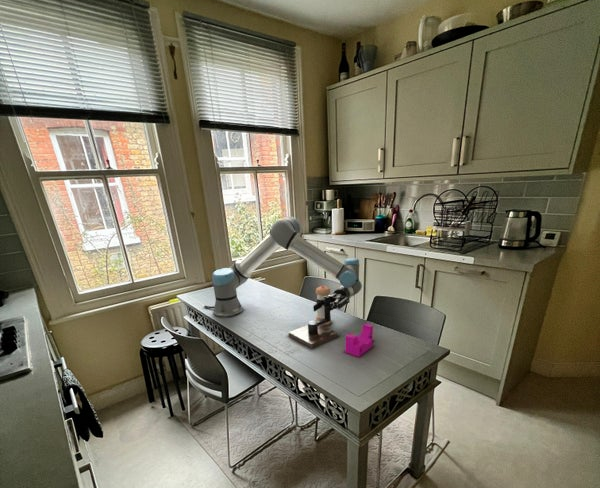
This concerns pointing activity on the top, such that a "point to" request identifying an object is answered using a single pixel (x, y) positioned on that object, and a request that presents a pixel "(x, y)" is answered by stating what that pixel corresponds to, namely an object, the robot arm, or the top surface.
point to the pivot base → (313, 336)
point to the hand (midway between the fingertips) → (319, 309)
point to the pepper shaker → (321, 293)
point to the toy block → (360, 341)
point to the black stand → (314, 324)
